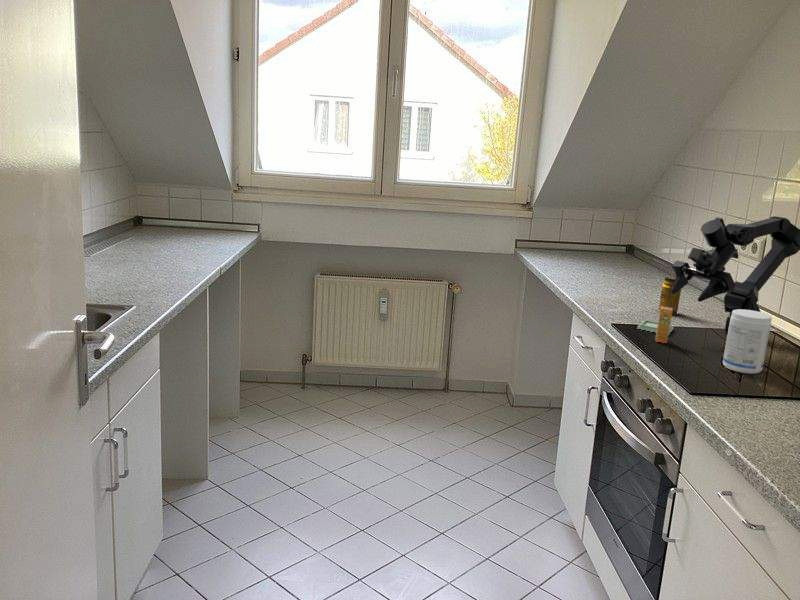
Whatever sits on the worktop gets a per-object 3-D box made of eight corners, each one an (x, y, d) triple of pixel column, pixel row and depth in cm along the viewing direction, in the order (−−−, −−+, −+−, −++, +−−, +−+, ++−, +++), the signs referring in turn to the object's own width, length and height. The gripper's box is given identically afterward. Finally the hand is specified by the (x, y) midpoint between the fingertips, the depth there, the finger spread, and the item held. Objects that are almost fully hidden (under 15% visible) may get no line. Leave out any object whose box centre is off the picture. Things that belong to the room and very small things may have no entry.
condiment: (653, 309, 255) (659, 275, 252) (677, 311, 256) (683, 276, 253) (662, 315, 248) (668, 279, 245) (687, 316, 249) (693, 281, 246)
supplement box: (654, 342, 212) (660, 308, 210) (655, 339, 215) (660, 305, 213) (666, 344, 211) (672, 310, 209) (667, 341, 214) (673, 307, 212)
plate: (672, 329, 229) (673, 324, 229) (668, 335, 221) (669, 330, 221) (642, 323, 233) (643, 319, 233) (637, 329, 225) (637, 324, 225)
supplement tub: (736, 361, 200) (746, 307, 197) (769, 372, 192) (780, 317, 189) (713, 364, 195) (723, 310, 191) (746, 376, 187) (758, 319, 184)
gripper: (681, 233, 221) (649, 271, 218) (736, 244, 205) (702, 285, 202) (694, 259, 226) (663, 296, 223) (749, 272, 211) (716, 312, 208)
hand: (685, 296), depth 214 cm, fingers open, 9 cm apart
